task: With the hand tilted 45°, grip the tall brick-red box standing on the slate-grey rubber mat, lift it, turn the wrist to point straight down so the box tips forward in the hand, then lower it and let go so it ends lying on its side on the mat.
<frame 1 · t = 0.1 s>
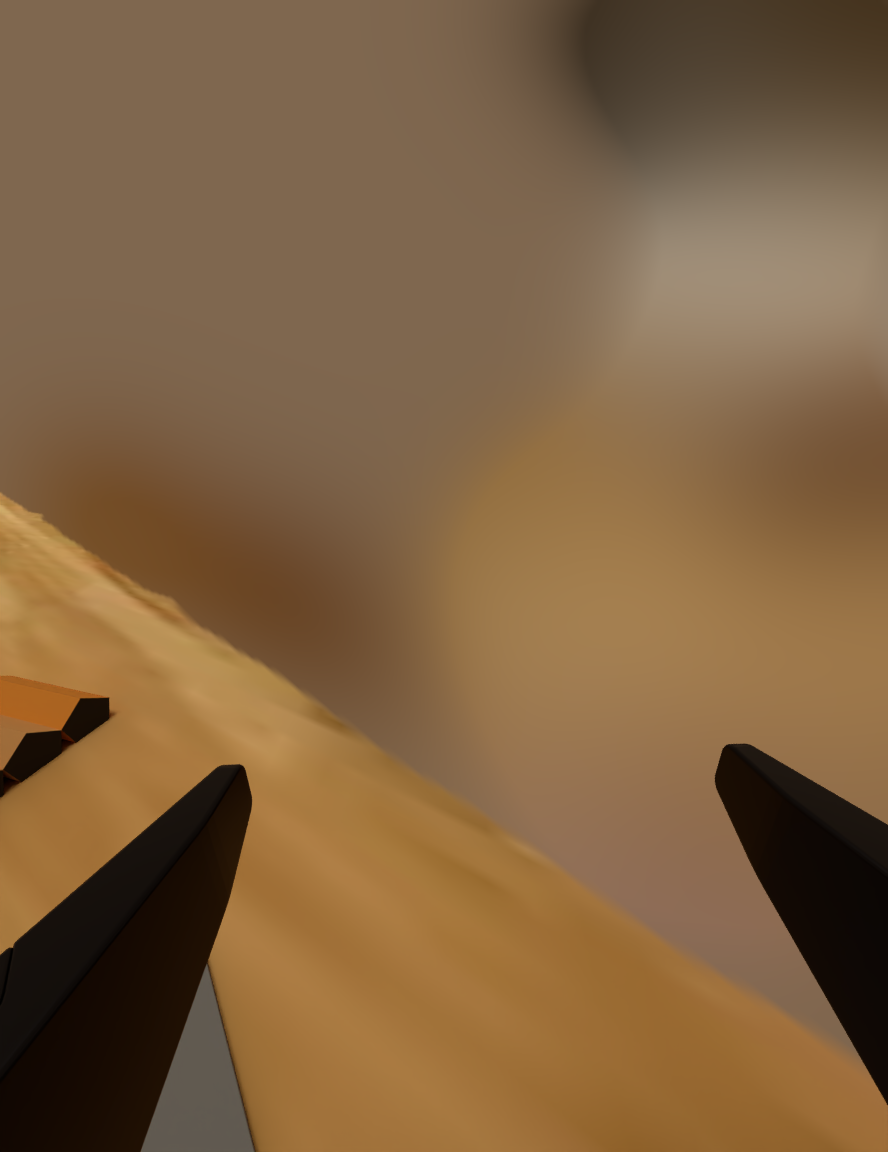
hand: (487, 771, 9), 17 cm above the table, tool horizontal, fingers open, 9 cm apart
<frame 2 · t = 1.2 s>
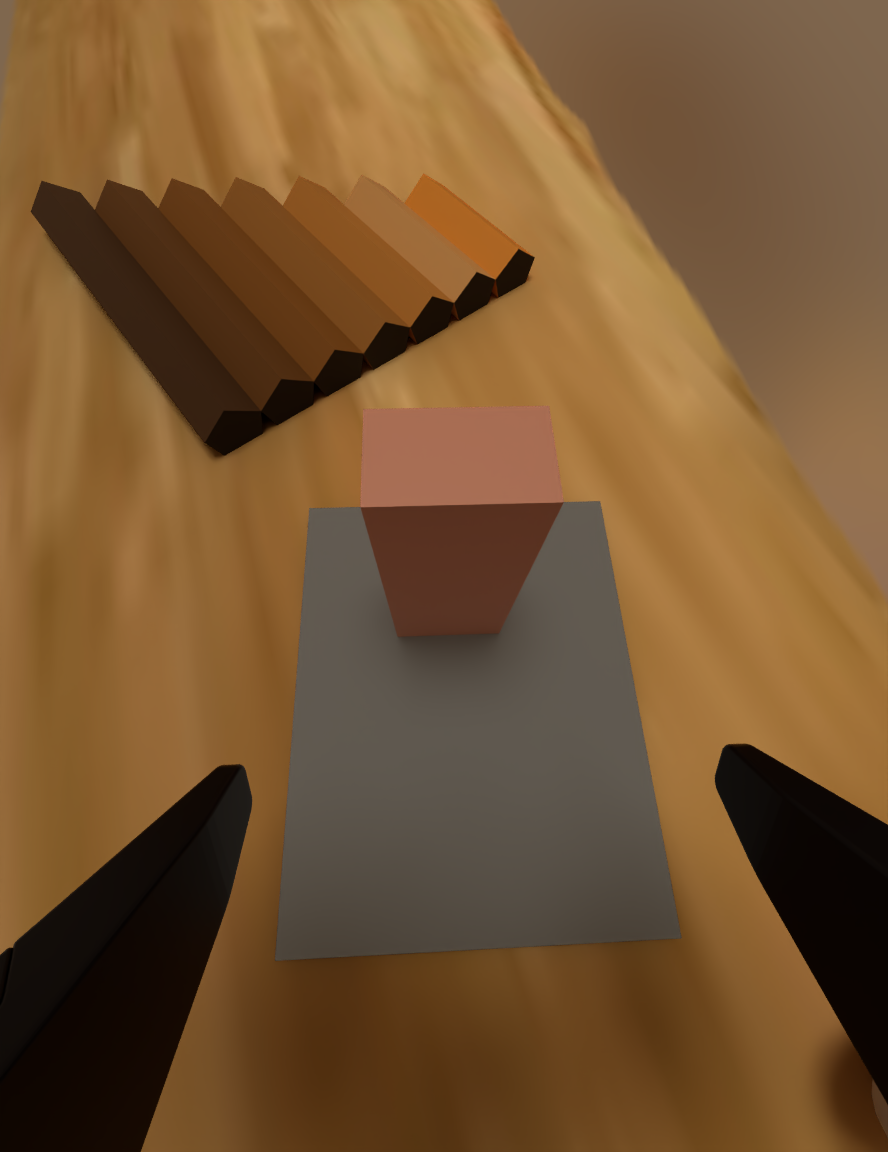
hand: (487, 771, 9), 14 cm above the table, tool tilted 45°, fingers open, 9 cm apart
mat: (465, 691, 23), on the table
pan flute: (289, 266, 35), on the table
tall box: (447, 605, 24), point 1 cm above the table, touching mat
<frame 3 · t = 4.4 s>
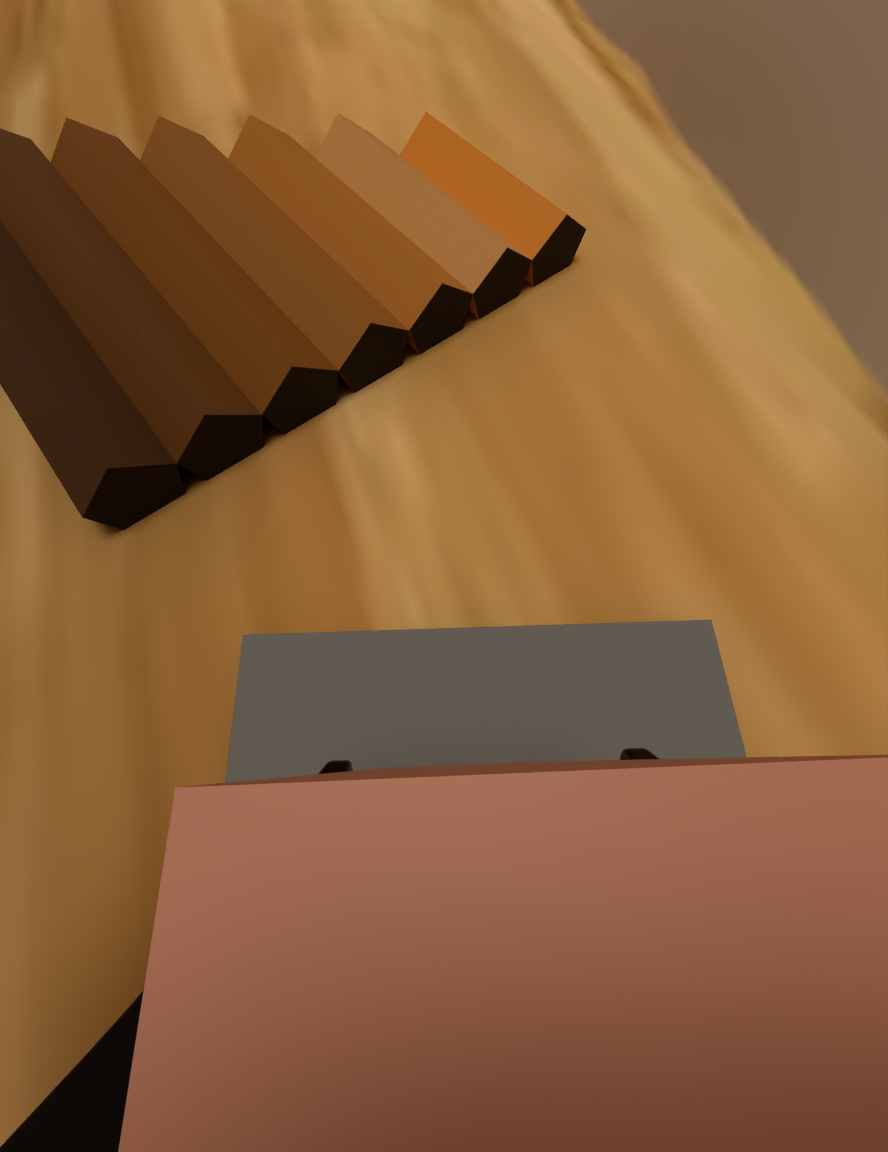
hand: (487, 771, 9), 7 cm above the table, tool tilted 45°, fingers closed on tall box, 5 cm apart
mat: (503, 986, 13), on the table
pan flute: (239, 245, 25), on the table
tall box: (469, 819, 14), point 1 cm above the table, touching gripper, mat
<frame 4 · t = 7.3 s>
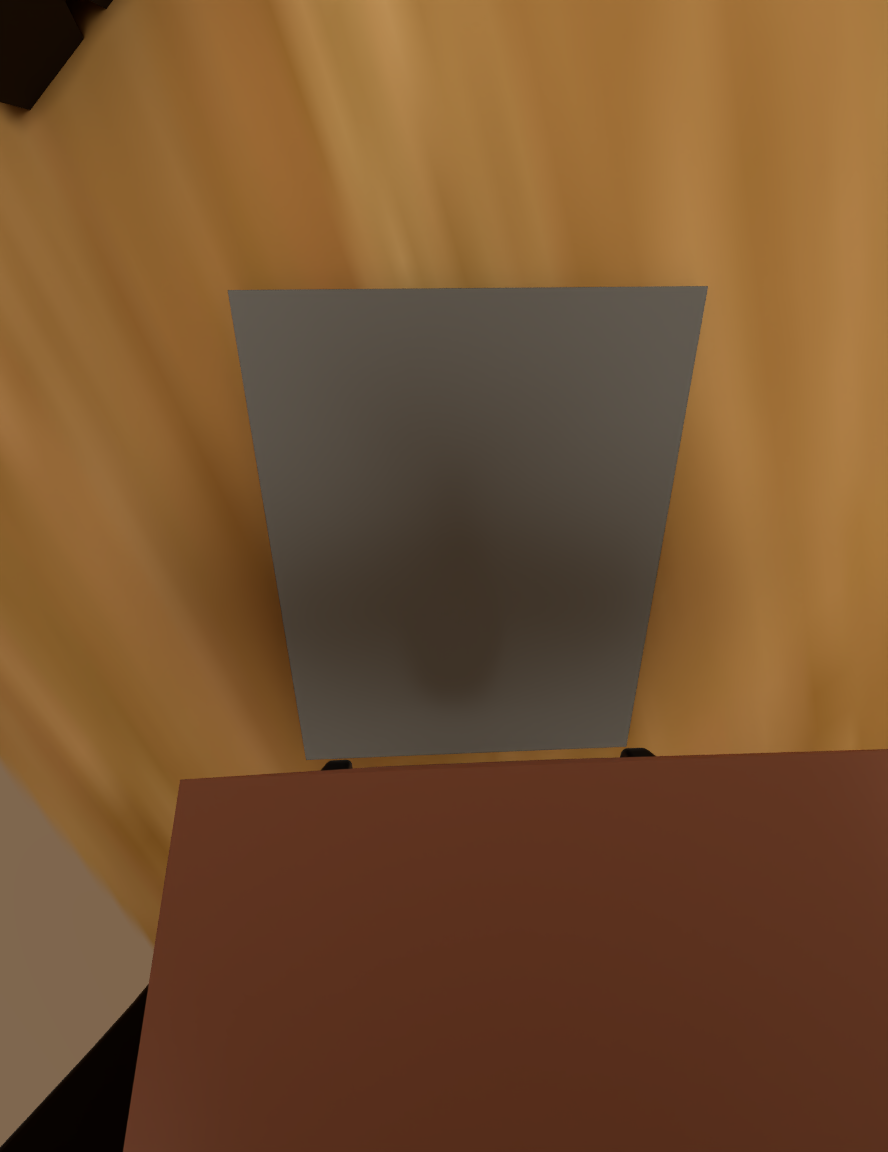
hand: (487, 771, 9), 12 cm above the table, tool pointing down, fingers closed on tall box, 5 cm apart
mat: (468, 561, 20), on the table
tall box: (469, 817, 14), point 9 cm above the table, tilted 45°, touching gripper
when the fingers open (7 cm above the table, at t = 9.5 s): tall box drops 2 cm and tips over, resting on mat.
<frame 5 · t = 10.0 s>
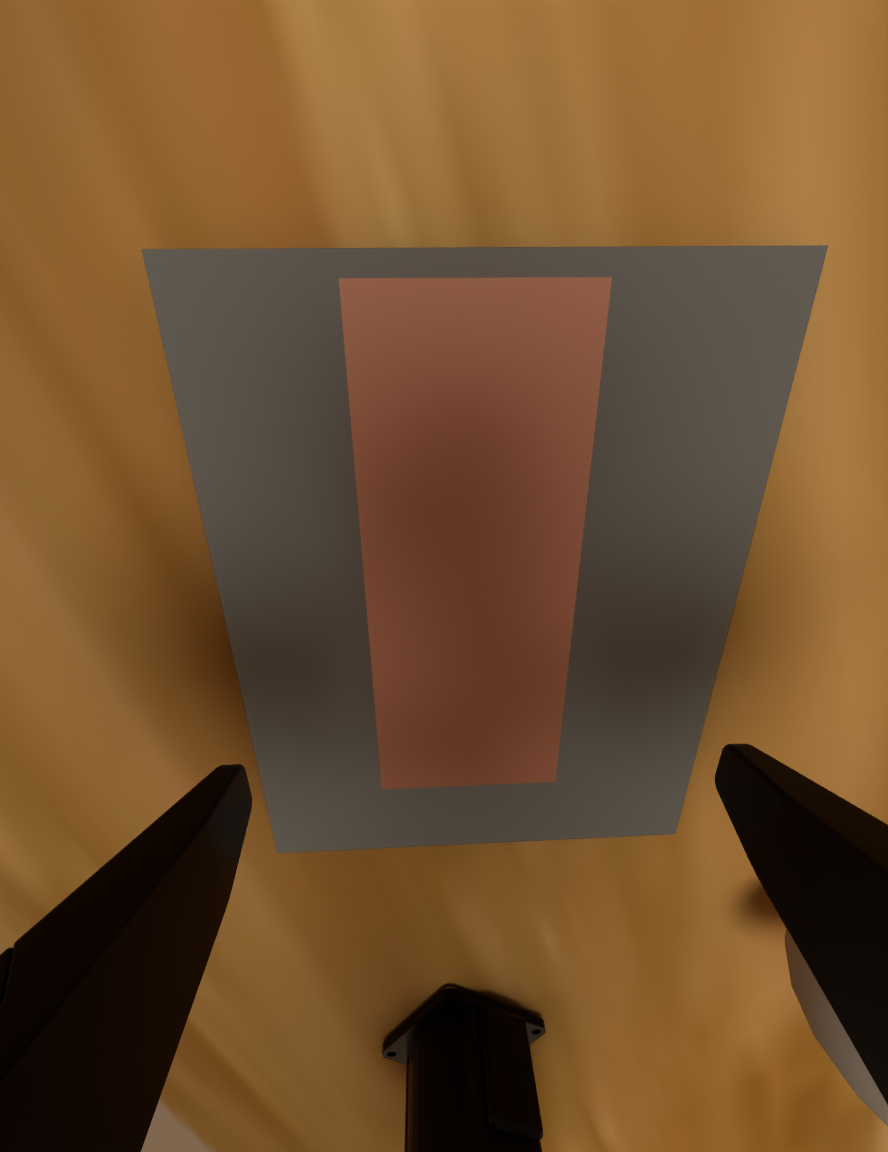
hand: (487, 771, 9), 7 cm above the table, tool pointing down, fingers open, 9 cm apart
mat: (482, 615, 15), on the table
donut: (837, 873, 22), on the table
tall box: (464, 747, 15), point 2 cm above the table, tilted 90°, touching mat
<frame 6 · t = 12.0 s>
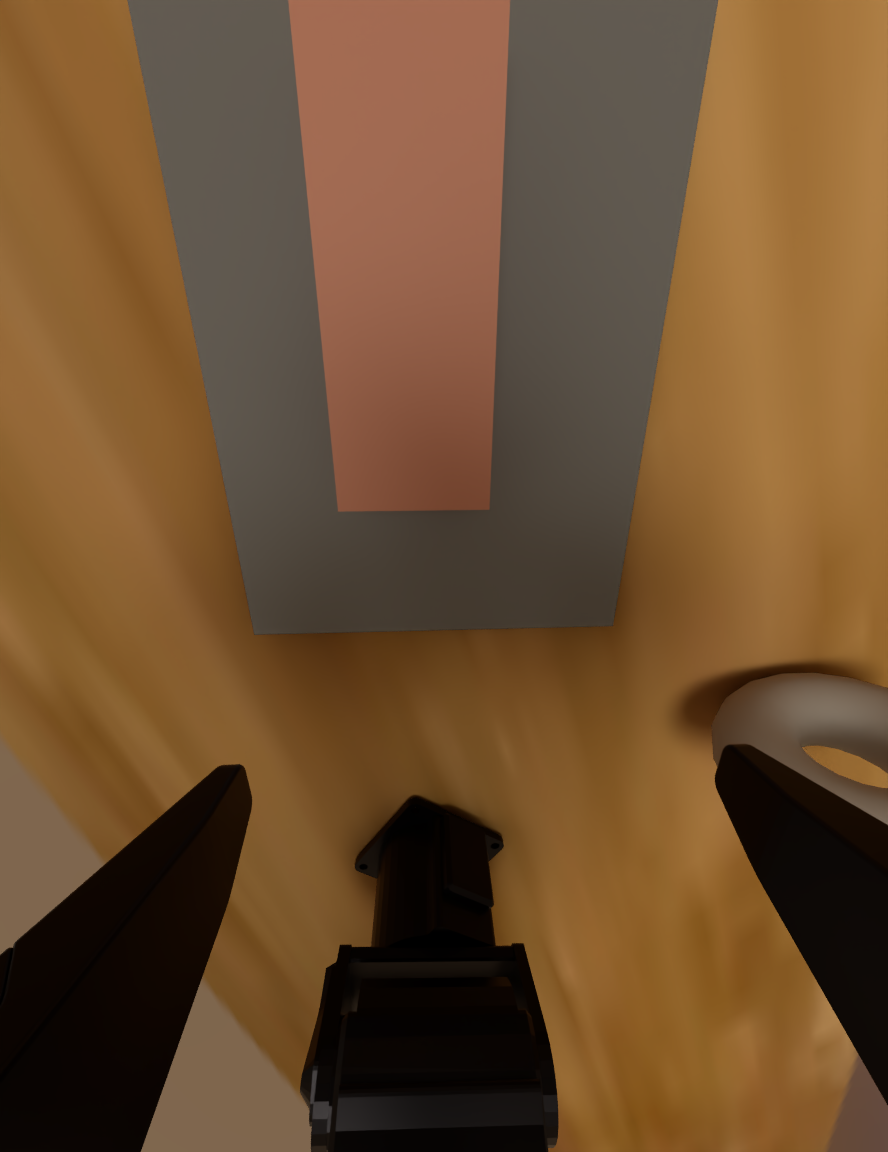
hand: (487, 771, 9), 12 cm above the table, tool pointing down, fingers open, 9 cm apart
mat: (432, 388, 17), on the table
donut: (765, 685, 24), on the table
tall box: (414, 498, 17), point 2 cm above the table, tilted 90°, touching mat
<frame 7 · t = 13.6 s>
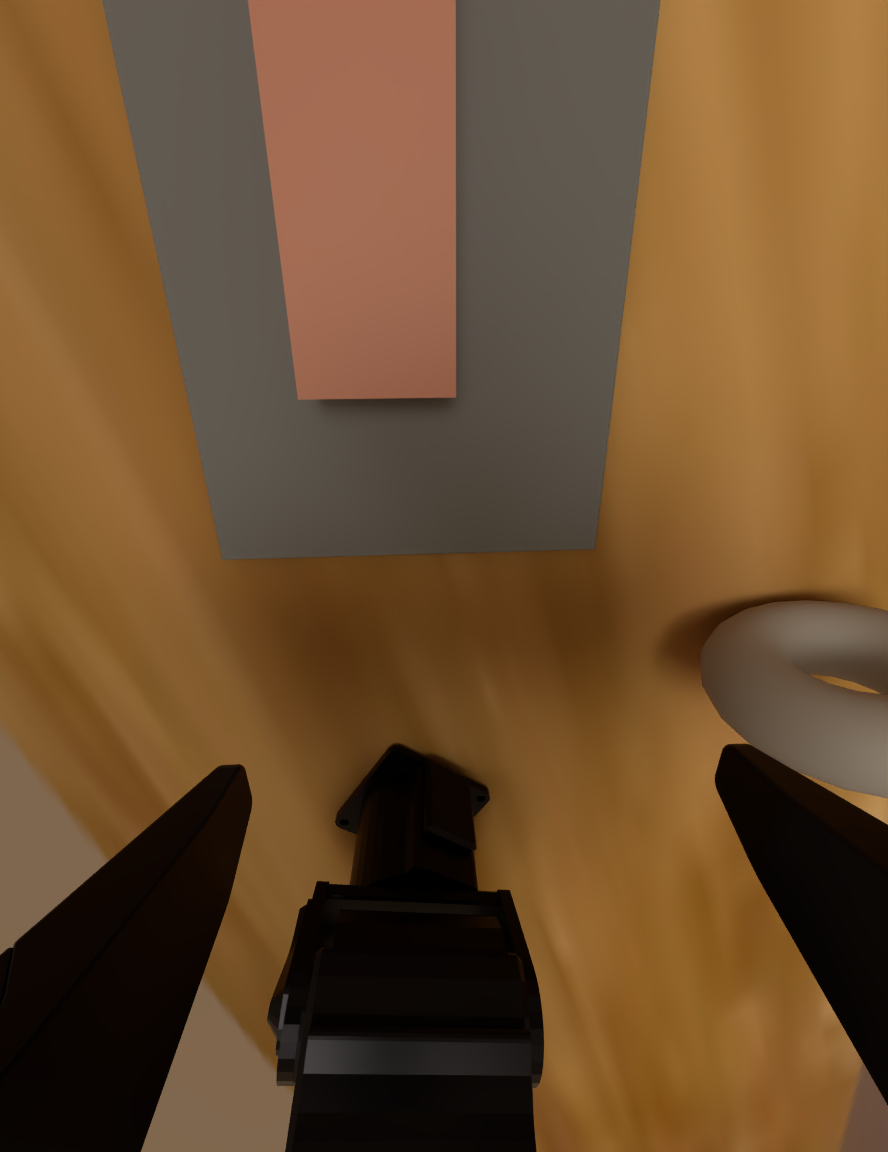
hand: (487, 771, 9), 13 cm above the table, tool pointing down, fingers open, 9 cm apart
mat: (399, 286, 17), on the table
donut: (757, 619, 23), on the table
tall box: (381, 396, 16), point 2 cm above the table, tilted 90°, touching mat
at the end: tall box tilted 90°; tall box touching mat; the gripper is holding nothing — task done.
